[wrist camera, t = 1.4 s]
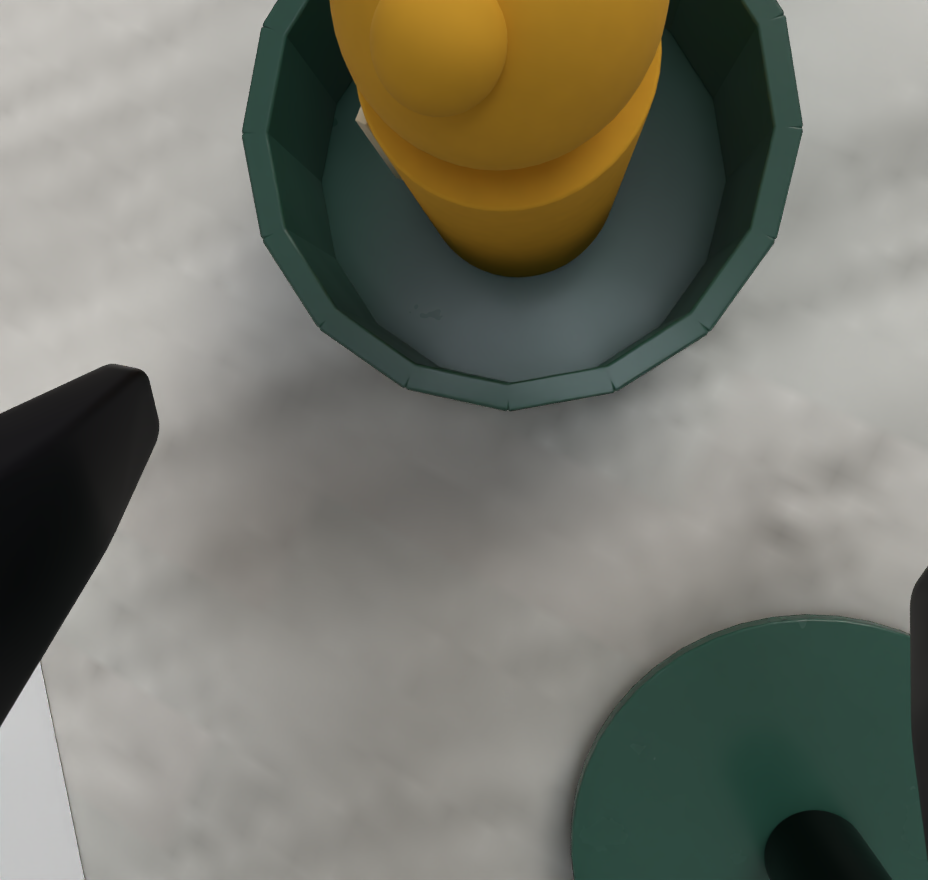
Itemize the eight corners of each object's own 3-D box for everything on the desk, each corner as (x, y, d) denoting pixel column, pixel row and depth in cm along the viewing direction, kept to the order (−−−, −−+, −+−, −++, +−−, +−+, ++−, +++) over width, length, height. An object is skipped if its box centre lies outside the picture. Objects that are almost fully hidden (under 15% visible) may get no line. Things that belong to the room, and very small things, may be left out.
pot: (455, 482, 23) (432, 507, 18) (228, 127, 23) (145, 58, 18) (828, 246, 22) (909, 207, 17) (588, -131, 22) (601, -278, 17)
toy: (646, 127, 22) (811, -279, 8) (568, 306, 22) (608, 190, 9) (459, 50, 22) (333, -457, 9) (386, 229, 23) (161, 7, 9)
